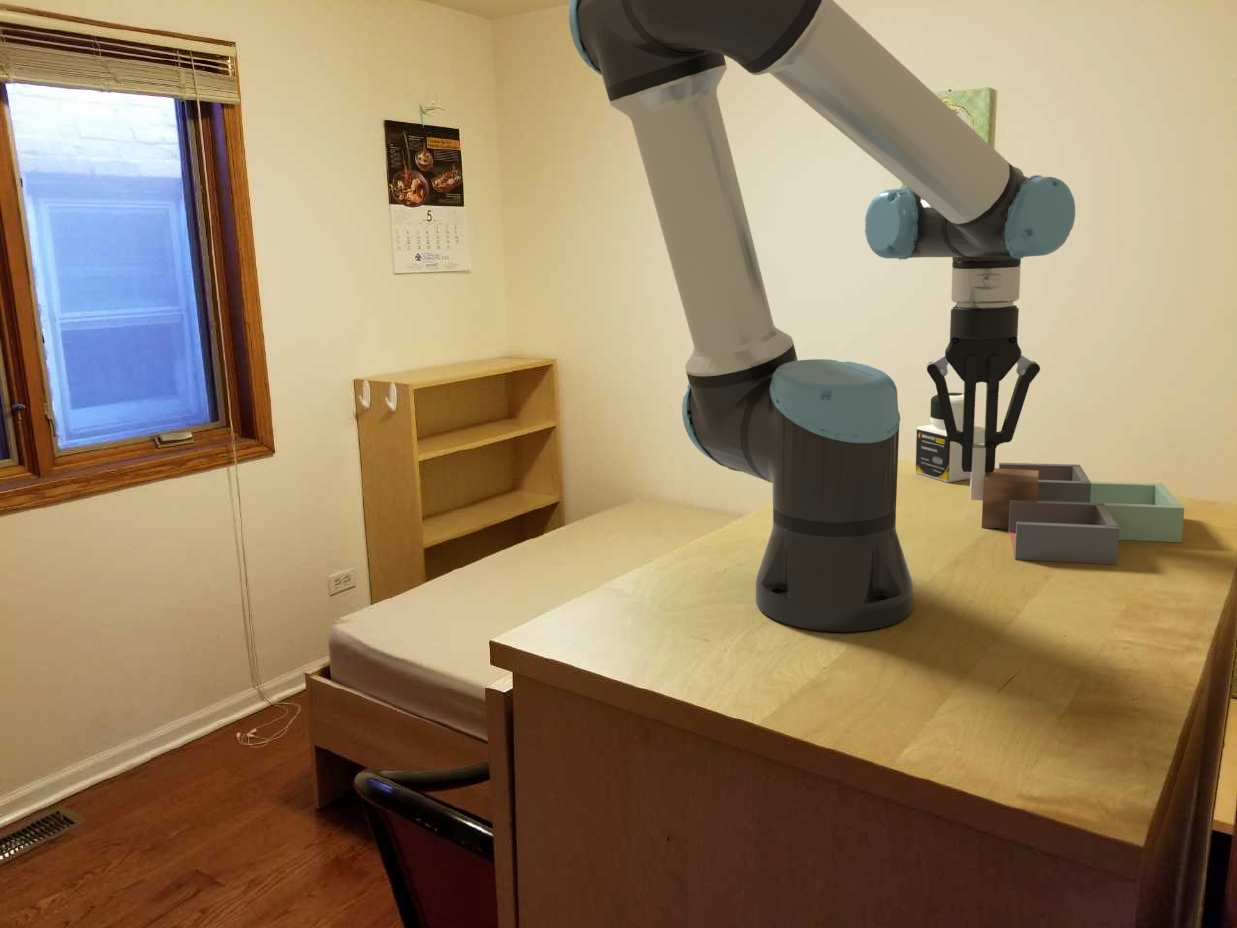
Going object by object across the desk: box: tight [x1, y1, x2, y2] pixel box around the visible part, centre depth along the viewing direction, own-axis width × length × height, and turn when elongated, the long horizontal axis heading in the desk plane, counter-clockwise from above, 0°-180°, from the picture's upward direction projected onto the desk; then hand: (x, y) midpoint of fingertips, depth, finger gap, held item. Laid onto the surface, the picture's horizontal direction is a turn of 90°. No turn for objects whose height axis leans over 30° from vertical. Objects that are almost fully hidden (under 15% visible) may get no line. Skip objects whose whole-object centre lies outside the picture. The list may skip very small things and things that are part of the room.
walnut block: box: [981, 467, 1039, 530], centre depth 118 cm, size 6×6×6 cm
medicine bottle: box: [915, 392, 985, 484], centre depth 141 cm, size 7×7×12 cm
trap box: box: [998, 462, 1185, 565], centre depth 116 cm, size 18×29×4 cm, turn 163°
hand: (976, 497), depth 120 cm, fingers closed
